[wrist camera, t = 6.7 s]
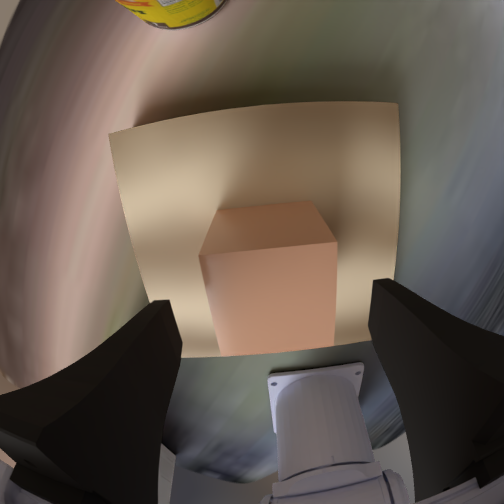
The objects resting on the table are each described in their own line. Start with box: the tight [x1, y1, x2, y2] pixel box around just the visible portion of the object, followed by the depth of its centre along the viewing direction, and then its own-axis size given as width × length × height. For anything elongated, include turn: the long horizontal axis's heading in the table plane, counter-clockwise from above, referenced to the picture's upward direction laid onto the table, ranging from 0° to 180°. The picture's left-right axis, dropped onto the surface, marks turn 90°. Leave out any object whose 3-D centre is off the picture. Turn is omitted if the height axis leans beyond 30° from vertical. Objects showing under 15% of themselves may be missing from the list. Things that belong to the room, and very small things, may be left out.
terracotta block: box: [198, 201, 337, 356], centre depth 13 cm, size 4×4×5 cm
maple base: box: [108, 101, 401, 358], centre depth 16 cm, size 14×14×3 cm
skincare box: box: [158, 443, 176, 504], centre depth 24 cm, size 6×4×12 cm
